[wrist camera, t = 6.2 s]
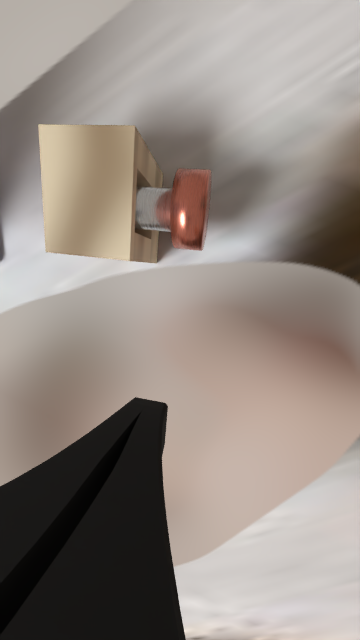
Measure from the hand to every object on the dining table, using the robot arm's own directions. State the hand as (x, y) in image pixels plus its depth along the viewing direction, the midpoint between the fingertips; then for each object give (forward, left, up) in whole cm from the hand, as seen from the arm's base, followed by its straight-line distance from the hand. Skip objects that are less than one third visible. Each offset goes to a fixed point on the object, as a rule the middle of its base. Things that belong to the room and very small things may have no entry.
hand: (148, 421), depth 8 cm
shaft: (-3, +9, -8) cm, 13 cm away
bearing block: (-5, +9, -9) cm, 14 cm away
